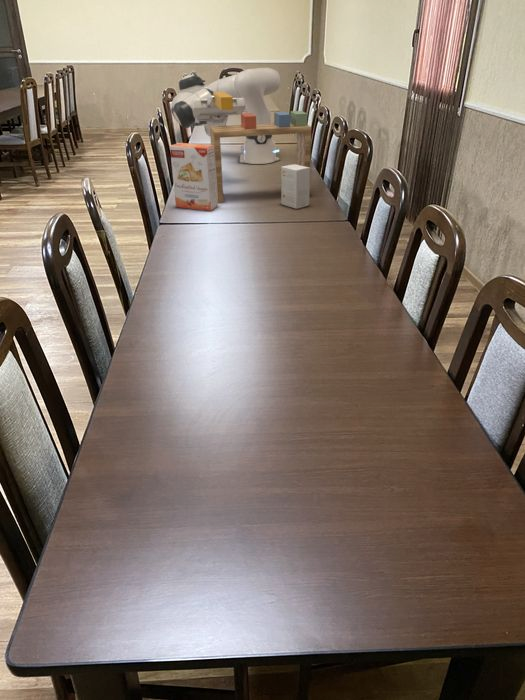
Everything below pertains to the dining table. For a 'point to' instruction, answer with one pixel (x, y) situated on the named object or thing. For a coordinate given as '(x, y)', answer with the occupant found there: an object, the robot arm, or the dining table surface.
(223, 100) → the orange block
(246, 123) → the block
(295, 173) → the small box
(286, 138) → the dining table surface
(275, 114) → the block
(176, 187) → the cracker box
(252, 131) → the shelf
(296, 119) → the block
